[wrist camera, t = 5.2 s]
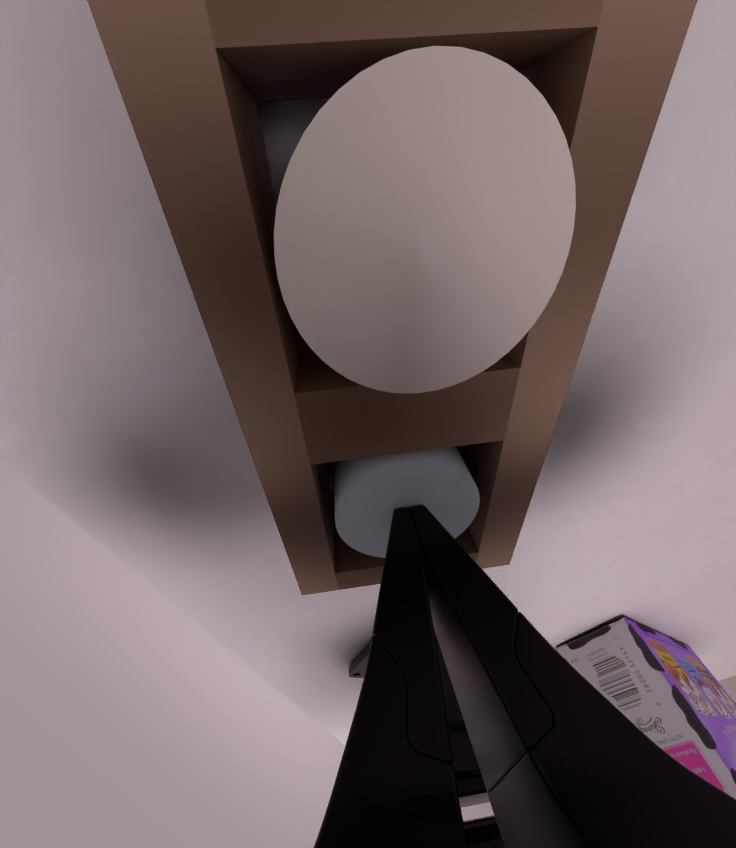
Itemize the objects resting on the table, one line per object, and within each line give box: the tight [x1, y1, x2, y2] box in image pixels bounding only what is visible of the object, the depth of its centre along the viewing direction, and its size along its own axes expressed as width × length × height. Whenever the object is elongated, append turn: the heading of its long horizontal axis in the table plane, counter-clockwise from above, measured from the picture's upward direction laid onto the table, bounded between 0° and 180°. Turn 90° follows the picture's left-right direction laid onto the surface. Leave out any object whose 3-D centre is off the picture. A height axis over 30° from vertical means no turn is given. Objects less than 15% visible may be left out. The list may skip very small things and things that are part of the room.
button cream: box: [274, 46, 576, 394], centre depth 5 cm, size 4×4×2 cm
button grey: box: [333, 446, 480, 558], centre depth 10 cm, size 4×4×2 cm
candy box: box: [557, 617, 736, 799], centre depth 20 cm, size 14×6×16 cm, turn 51°
